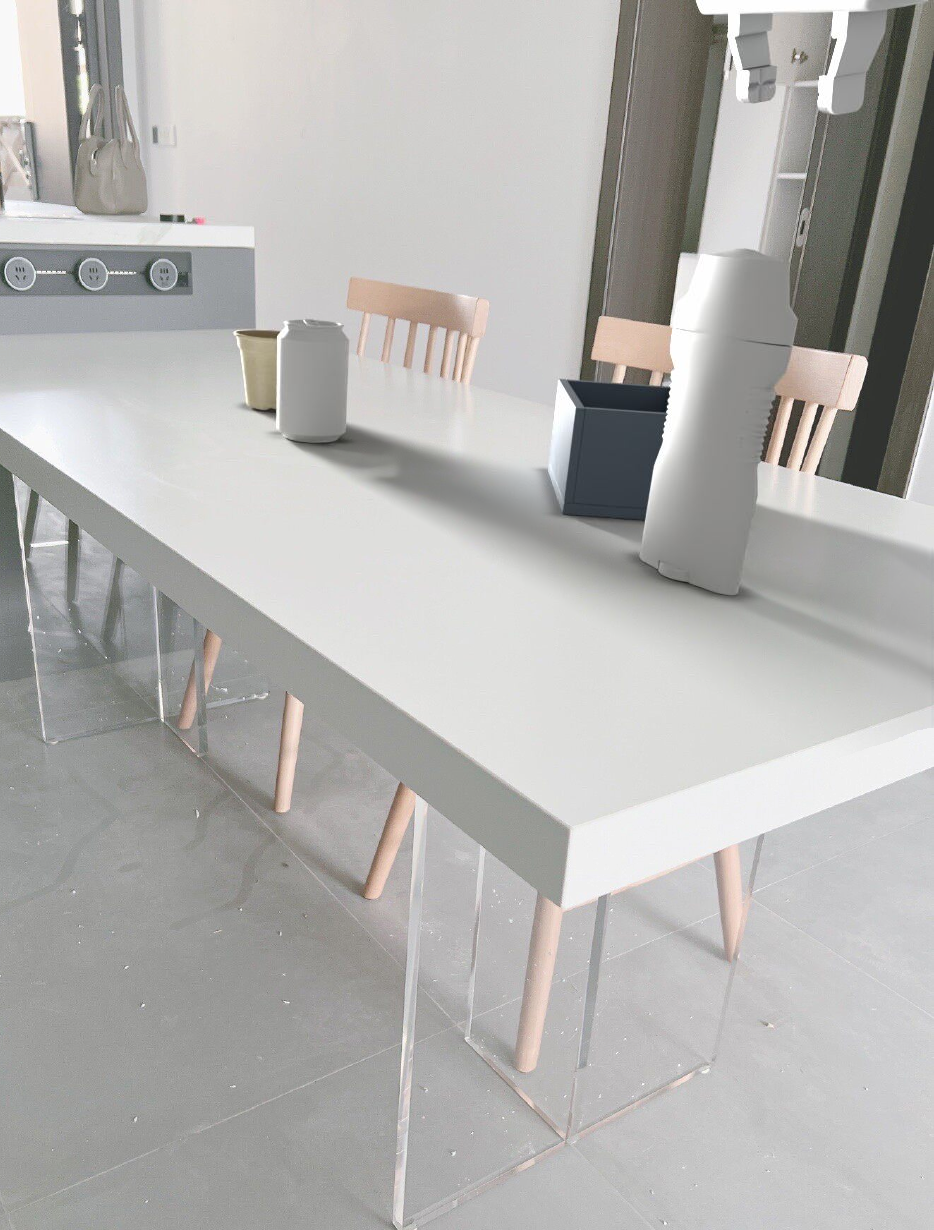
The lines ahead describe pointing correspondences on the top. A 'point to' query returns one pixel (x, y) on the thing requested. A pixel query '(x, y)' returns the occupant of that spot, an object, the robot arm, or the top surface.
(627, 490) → the bin
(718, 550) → the tall pale column
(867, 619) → the top surface
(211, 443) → the top surface
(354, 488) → the top surface
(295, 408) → the can
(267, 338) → the flower pot
